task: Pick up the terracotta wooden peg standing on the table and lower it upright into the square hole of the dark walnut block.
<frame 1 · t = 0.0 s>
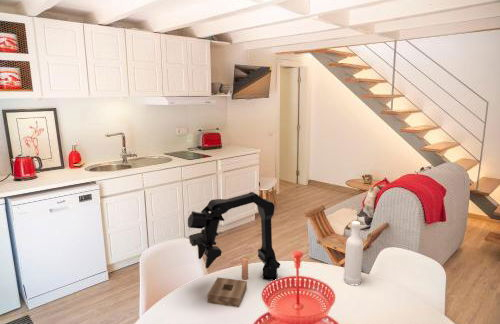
hand: (203, 263, 145), 15 cm above the table, tool pointing down, fingers open, 9 cm apart
bottle: (352, 281, 160), on the table
peg: (244, 278, 162), on the table
hole block: (227, 295, 148), on the table
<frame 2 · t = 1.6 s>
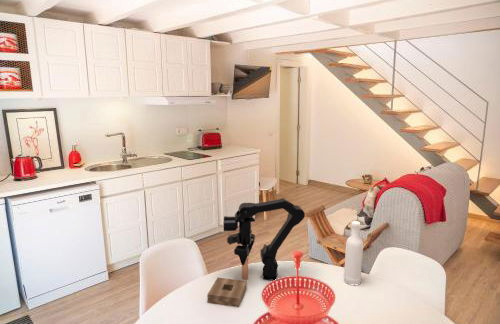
hand: (245, 260, 160), 9 cm above the table, tool pointing down, fingers open, 9 cm apart
nothing on the table moved.
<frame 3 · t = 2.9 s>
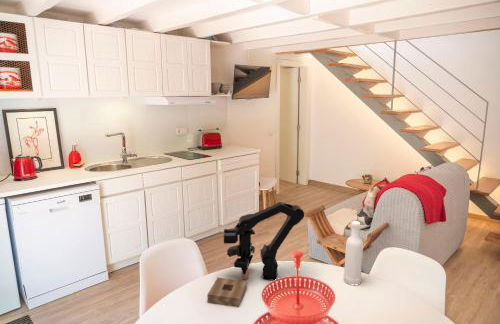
hand: (244, 272, 162), 3 cm above the table, tool pointing down, fingers closed on peg, 3 cm apart
peg: (244, 278, 162), on the table, touching gripper
everything else where it was.
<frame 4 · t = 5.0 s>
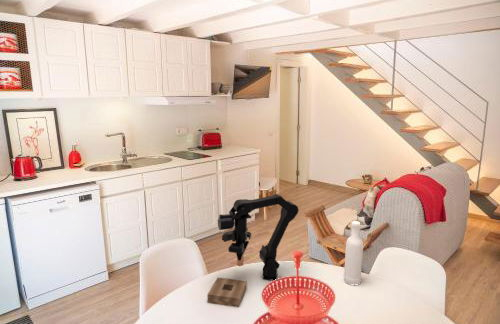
hand: (240, 258, 156), 12 cm above the table, tool pointing down, fingers closed on peg, 3 cm apart
peg: (240, 264, 157), point 9 cm above the table, touching gripper
everything else where it was.
when the fingers open (5 cm above the table, at t = 7.3 s): peg drops 2 cm, resting in hole block.
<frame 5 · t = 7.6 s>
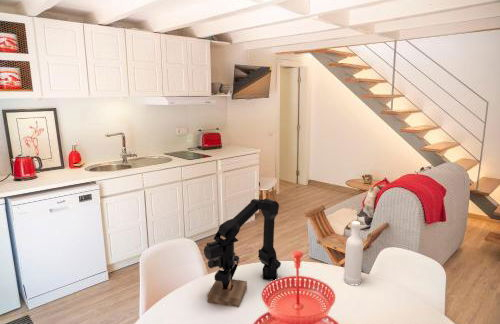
hand: (227, 285, 147), 5 cm above the table, tool pointing down, fingers open, 6 cm apart
peg: (227, 295, 148), resting in hole block
everything else where it was.
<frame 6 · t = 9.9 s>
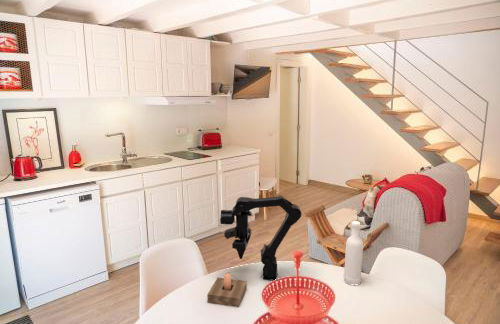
hand: (242, 254, 161), 12 cm above the table, tool pointing down, fingers open, 9 cm apart
nothing on the table moved.
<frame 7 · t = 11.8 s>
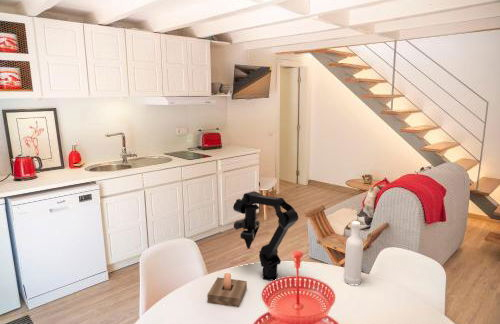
hand: (250, 244, 171), 12 cm above the table, tool pointing down, fingers open, 9 cm apart
nothing on the table moved.
at the end: peg 0.1 cm off-centre on the hole block, point 0.0 cm above the hole block's base; peg tilted 0°; the gripper is holding nothing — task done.
